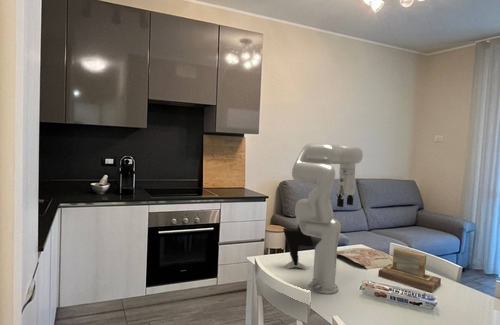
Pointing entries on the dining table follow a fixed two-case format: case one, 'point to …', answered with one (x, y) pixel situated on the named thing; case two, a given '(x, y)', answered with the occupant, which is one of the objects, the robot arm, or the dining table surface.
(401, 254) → the wooden plaque
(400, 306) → the dining table surface
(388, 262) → the poster
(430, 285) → the display stand
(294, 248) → the award
